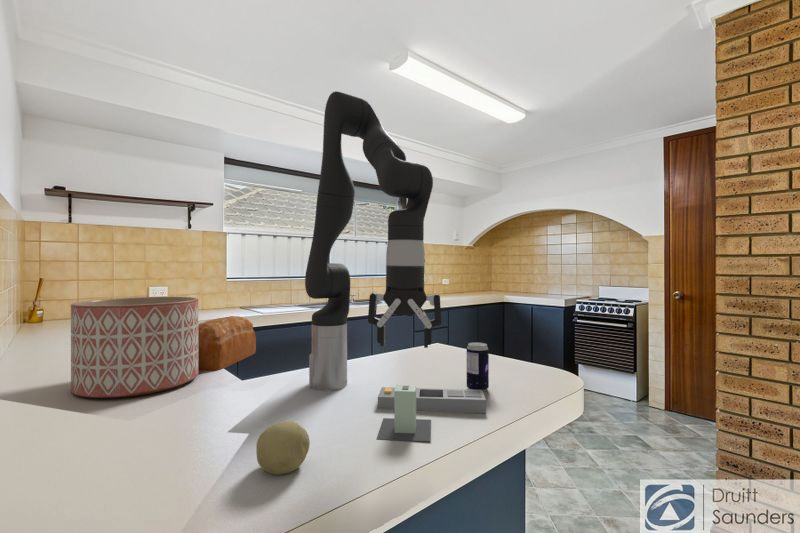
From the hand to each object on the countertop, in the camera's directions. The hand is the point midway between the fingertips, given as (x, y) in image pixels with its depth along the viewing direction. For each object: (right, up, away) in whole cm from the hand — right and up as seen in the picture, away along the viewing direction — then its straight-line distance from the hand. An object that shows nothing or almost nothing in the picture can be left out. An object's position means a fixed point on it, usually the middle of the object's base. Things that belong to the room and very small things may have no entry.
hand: (404, 346), depth 77 cm
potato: (-19, -17, -15) cm, 30 cm away
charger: (0, -16, 0) cm, 16 cm away
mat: (0, -17, 0) cm, 17 cm away
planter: (-69, -17, +25) cm, 75 cm away
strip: (+6, -17, +13) cm, 22 cm away
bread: (-60, -17, +51) cm, 80 cm away
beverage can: (+19, -17, +25) cm, 36 cm away
